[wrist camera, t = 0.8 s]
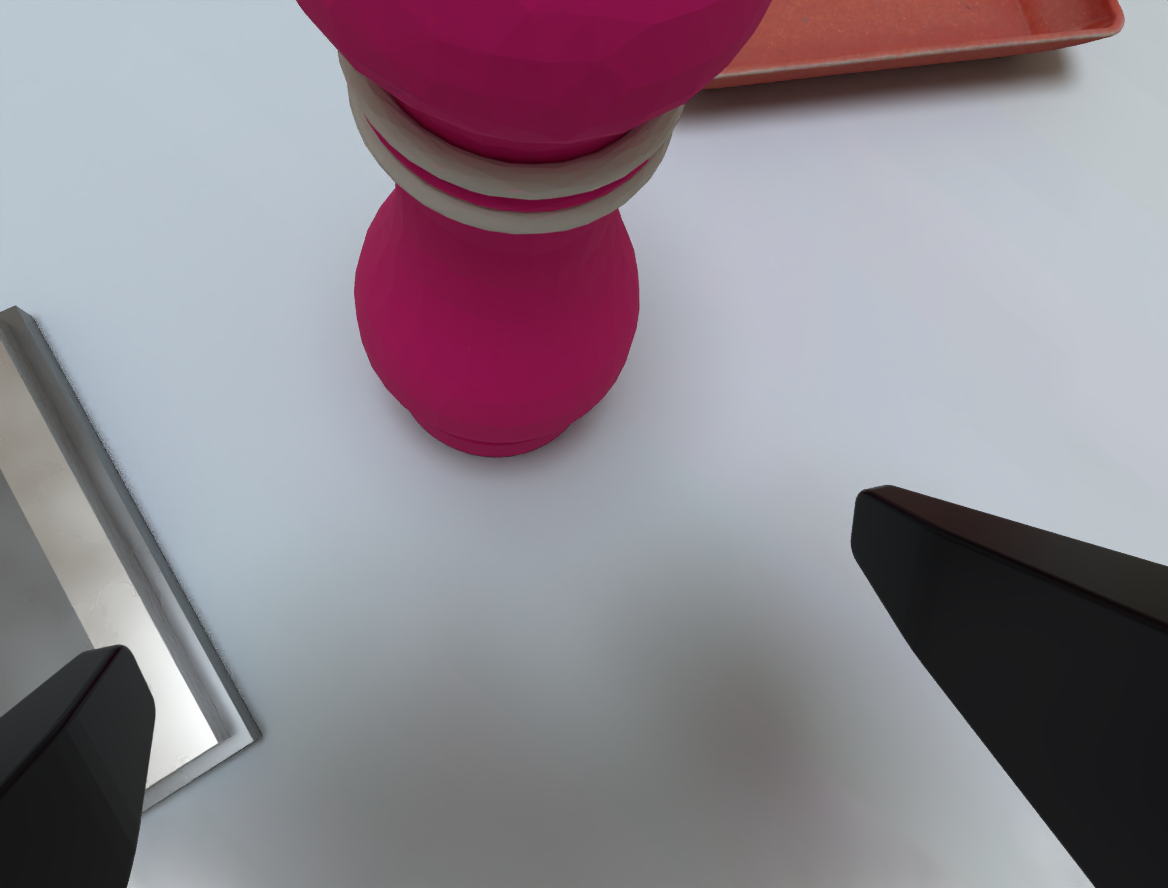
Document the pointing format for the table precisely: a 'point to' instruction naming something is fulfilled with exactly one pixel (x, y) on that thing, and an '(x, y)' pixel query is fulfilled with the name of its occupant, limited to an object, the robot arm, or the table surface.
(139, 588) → the silver dock
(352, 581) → the table surface
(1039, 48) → the plant saucer
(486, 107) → the pepper mill
